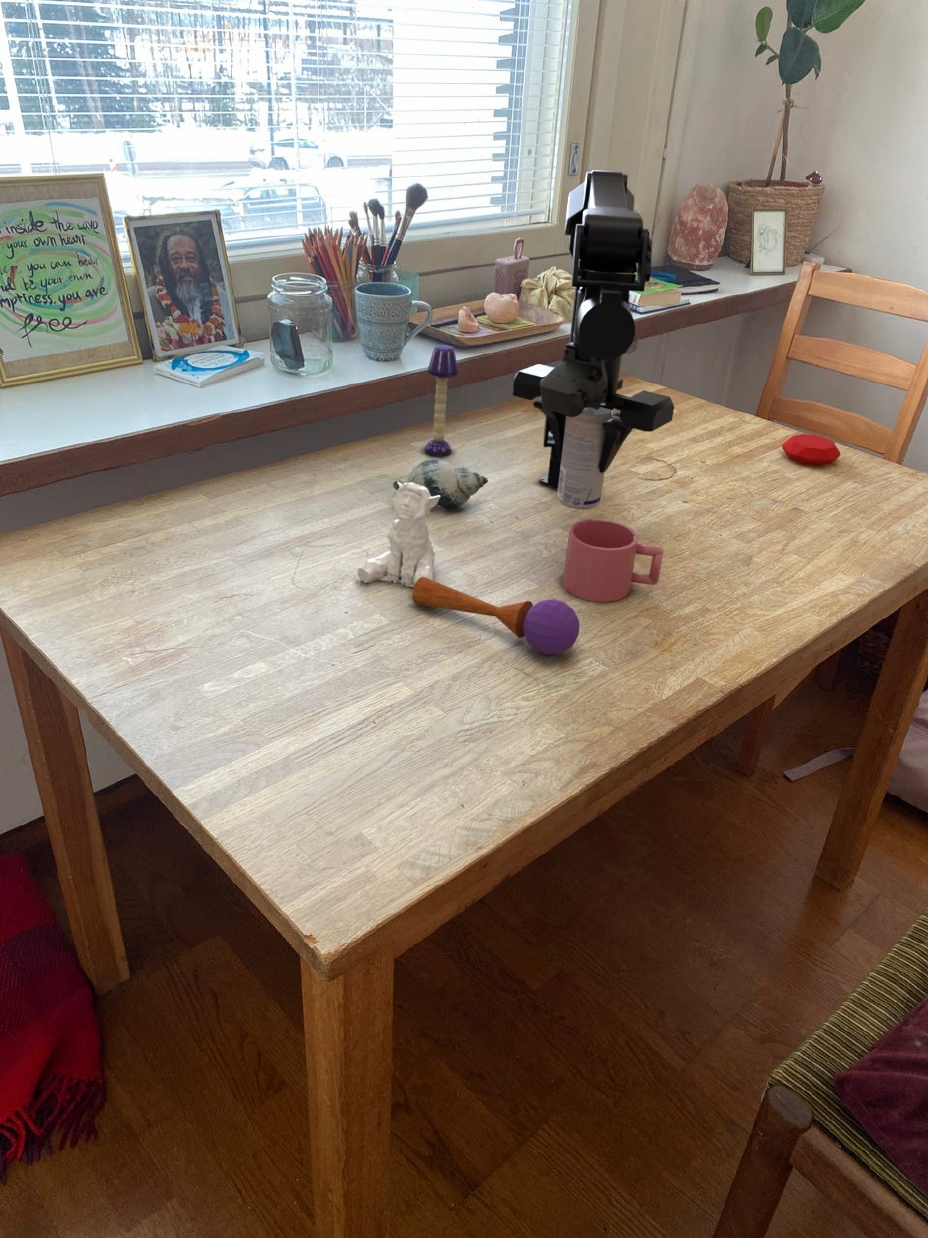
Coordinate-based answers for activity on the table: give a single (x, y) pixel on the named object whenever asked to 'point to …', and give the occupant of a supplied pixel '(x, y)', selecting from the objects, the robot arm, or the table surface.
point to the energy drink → (582, 459)
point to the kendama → (510, 615)
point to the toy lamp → (441, 395)
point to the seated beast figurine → (405, 540)
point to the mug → (606, 560)
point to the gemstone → (811, 450)
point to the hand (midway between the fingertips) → (582, 465)
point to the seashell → (445, 482)
